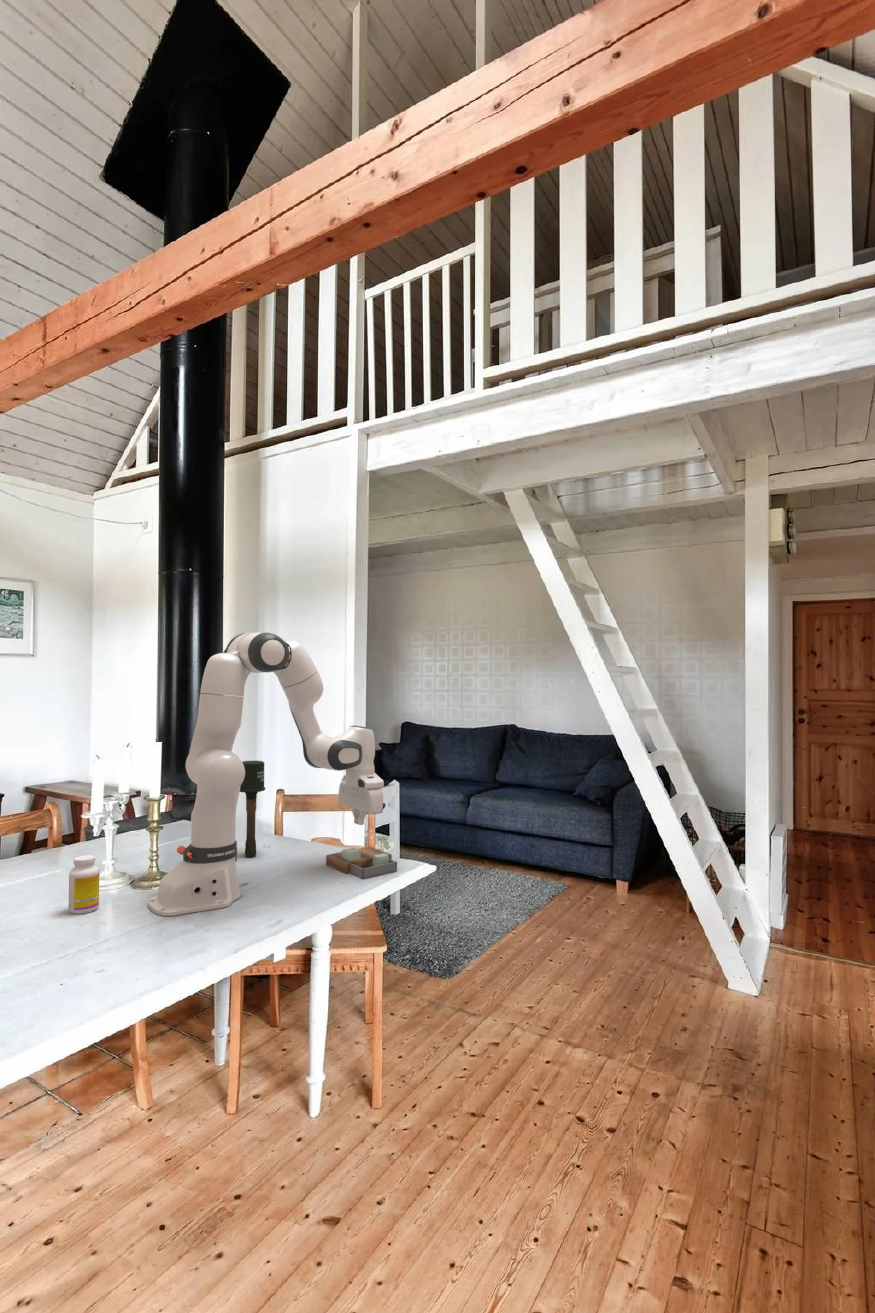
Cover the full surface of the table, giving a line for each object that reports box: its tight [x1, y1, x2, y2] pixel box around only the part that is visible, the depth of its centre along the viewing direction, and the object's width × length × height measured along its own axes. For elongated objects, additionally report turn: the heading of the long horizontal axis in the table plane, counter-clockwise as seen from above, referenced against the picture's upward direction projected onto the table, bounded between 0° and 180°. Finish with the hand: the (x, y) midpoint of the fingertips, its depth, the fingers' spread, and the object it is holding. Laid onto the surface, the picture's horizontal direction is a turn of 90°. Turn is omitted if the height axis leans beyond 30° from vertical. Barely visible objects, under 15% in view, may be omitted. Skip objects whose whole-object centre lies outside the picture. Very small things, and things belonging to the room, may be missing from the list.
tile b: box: [373, 853, 389, 867], centre depth 199 cm, size 4×4×2 cm
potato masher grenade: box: [239, 760, 266, 859], centre depth 212 cm, size 8×9×30 cm
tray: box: [349, 859, 398, 880], centre depth 196 cm, size 12×7×3 cm, turn 130°
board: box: [325, 845, 393, 875], centre depth 204 cm, size 16×12×3 cm
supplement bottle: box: [68, 854, 100, 915], centre depth 164 cm, size 7×7×13 cm
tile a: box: [341, 847, 361, 861], centre depth 200 cm, size 4×4×2 cm
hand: (359, 824), depth 203 cm, fingers closed
